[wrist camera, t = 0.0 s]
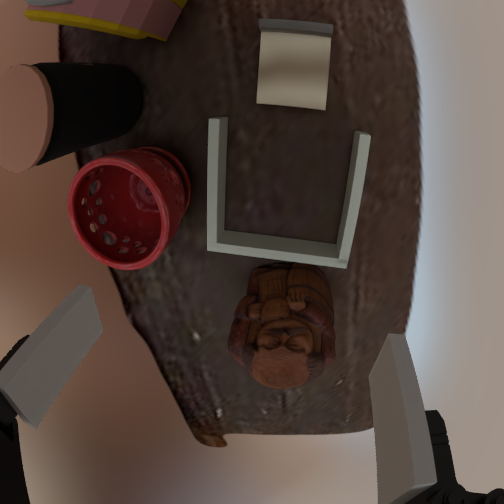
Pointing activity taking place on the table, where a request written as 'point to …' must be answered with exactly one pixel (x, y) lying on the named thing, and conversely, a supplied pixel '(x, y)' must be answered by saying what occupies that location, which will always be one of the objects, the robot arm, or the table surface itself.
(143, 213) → the plant pot
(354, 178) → the dock
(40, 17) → the alarm clock
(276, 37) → the beige block
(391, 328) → the table surface
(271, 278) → the wooden figurine
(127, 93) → the coffee jar
